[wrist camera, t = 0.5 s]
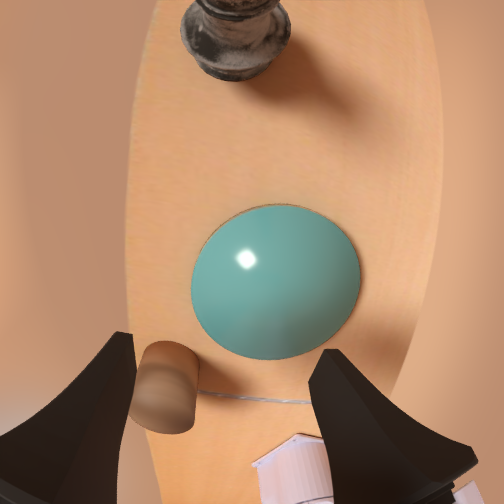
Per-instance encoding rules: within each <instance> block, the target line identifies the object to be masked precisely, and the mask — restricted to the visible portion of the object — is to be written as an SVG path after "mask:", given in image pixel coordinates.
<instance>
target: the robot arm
mask: <svg viewBox="0 0 504 504" xmlns="http://www.w3.org/2000/svg"><path fill="white" fill-rule="evenodd" d="M136 373H137V367H136V360H135V352H134V343H133V334H129V333H123V332H118V331H117V332H115V333H114V334H113V335H112V337H111V338H110V339H109V340H108V342H107V343H106V344H105V345H104V347H103V348H102V349H101V350H100V351H99V353H98V354H97V355H96V356H95V357H94V359H93V360H92V361H91V362H90V363H89V364H88V365H87V366H86V368H85V369H84V370H83V371H82V372H81V373H80V374H79V375H78V376H77V377H76V378H75V379H74V380H73V382H71V383H70V384H69V386H68V387H67V388H66V389H64V390H63V391H62V392H61V393H60V394H59V395H58V396H57V397H56V398H55V399H53V400H52V401H51V402H50V403H49V404H48V405H46V406H45V407H44V408H43V409H41V410H40V411H39V412H37V413H36V414H35V415H34V416H32V417H31V418H29V419H28V420H26V421H25V422H23V423H22V424H20V425H18V426H17V427H16V428H14V429H12V430H11V431H9V432H7V433H5V434H4V435H2V436H0V504H117V473H118V461H119V451H120V445H121V440H122V436H123V431H124V427H125V424H126V420H127V416H128V412H129V408H130V405H131V401H132V397H133V393H134V386H135V380H136ZM308 384H309V390H310V396H311V402H312V406H313V409H314V412H315V416H316V419H317V422H318V425H319V428H320V432H321V435H322V438H323V439H321V438H316V437H311V436H307V435H302V434H296V435H294V436H293V437H292V438H290V439H289V440H287V441H286V442H284V443H283V444H281V445H280V446H278V447H277V448H275V449H274V450H272V451H271V452H269V453H268V454H266V455H265V456H263V457H261V458H260V459H258V460H257V461H255V462H253V463H252V467H256V468H257V471H258V479H259V488H260V496H261V502H262V504H484V502H483V499H482V497H481V495H480V493H479V490H478V488H477V486H476V484H475V482H474V480H471V481H470V482H469V483H467V484H465V485H464V486H462V487H461V488H459V489H458V490H456V491H455V492H453V493H452V491H451V489H452V488H454V487H455V485H454V483H453V481H454V480H456V479H457V478H458V477H460V476H461V475H463V474H464V473H466V472H467V471H468V470H470V469H471V468H473V467H474V466H475V465H476V464H477V463H478V459H477V457H476V455H475V454H474V451H473V449H472V448H471V447H470V446H467V445H464V444H462V443H459V442H456V441H453V440H450V439H448V438H446V437H444V436H442V435H440V434H438V433H436V432H434V431H432V430H430V429H429V428H427V427H425V426H424V425H422V424H420V423H419V422H417V421H416V420H414V419H413V418H411V417H410V416H409V415H407V414H406V413H405V412H403V411H402V410H401V409H399V408H398V407H397V406H396V405H394V404H393V403H392V402H391V401H390V400H389V399H388V398H386V397H385V396H384V395H383V394H382V393H381V392H380V391H379V390H378V389H377V388H376V387H375V386H374V385H373V384H372V383H371V382H370V381H369V380H368V379H367V378H366V377H365V376H364V375H363V374H362V373H361V372H360V371H359V370H358V369H357V368H356V367H355V366H354V365H353V364H352V363H351V362H350V361H349V360H348V359H347V358H346V356H345V355H344V354H343V353H342V352H341V351H340V350H338V349H324V351H323V353H322V355H321V357H320V359H319V361H318V363H317V365H316V367H315V369H314V371H313V373H312V375H311V377H310V379H309V381H308Z"/></svg>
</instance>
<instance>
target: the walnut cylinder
mask: <svg viewBox="0 0 504 504" xmlns="http://www.w3.org/2000/svg"><path fill="white" fill-rule="evenodd" d="M198 376H199V361H198V358H197V357H196V355H195V354H194V353H193V352H192V351H191V350H190V349H189V348H187V347H186V346H184V345H182V344H179V343H176V342H172V341H158V342H155V343H152V344H151V345H149V346H148V347H147V348H146V349H145V351H144V353H143V356H142V359H141V362H140V365H139V368H138V371H137V374H136V380H135V386H134V393H133V397H132V401H131V405H130V408H129V412H128V414H129V416H130V417H131V418H132V419H133V420H134V421H135V422H136V423H137V424H139V425H140V426H142V427H144V428H146V429H148V430H151V431H154V432H157V433H162V434H180V433H183V432H186V431H188V430H190V429H191V428H192V427H193V425H194V420H195V408H196V397H197V386H198Z"/></svg>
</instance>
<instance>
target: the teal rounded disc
mask: <svg viewBox="0 0 504 504" xmlns="http://www.w3.org/2000/svg"><path fill="white" fill-rule="evenodd" d="M359 288H360V267H359V262H358V258H357V255H356V252H355V250H354V248H353V246H352V244H351V242H350V241H349V239H348V238H347V237H346V235H345V234H344V233H343V232H342V231H341V230H340V229H339V228H338V227H337V226H336V225H335V224H334V223H332V222H331V221H330V220H328V219H327V218H325V217H324V216H322V215H321V214H319V213H317V212H315V211H313V210H311V209H308V208H305V207H301V206H297V205H291V204H268V205H262V206H258V207H254V208H251V209H248V210H246V211H243V212H241V213H239V214H237V215H235V216H233V217H232V218H230V219H229V220H227V221H226V222H225V223H223V224H222V225H221V226H220V227H219V228H218V229H217V230H215V231H214V232H213V233H212V235H211V236H210V237H209V239H208V240H207V241H206V242H205V244H204V246H203V248H202V249H201V251H200V253H199V256H198V258H197V261H196V264H195V268H194V272H193V276H192V282H191V297H192V304H193V308H194V311H195V314H196V316H197V319H198V321H199V322H200V324H201V326H202V327H203V329H204V330H205V331H206V332H207V334H208V335H209V336H210V337H211V338H212V339H213V340H214V341H215V342H217V343H218V344H219V345H221V346H222V347H224V348H225V349H227V350H229V351H231V352H233V353H236V354H238V355H241V356H244V357H248V358H253V359H259V360H279V359H285V358H290V357H294V356H298V355H301V354H303V353H306V352H308V351H310V350H312V349H314V348H316V347H318V346H319V345H321V344H323V343H324V342H325V341H327V340H328V339H329V338H331V337H332V336H333V335H334V334H335V333H336V332H337V331H338V330H339V329H340V328H341V326H342V325H343V324H344V323H345V321H346V320H347V318H348V317H349V315H350V314H351V312H352V310H353V307H354V305H355V303H356V300H357V297H358V293H359Z"/></svg>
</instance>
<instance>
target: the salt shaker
mask: <svg viewBox="0 0 504 504" xmlns="http://www.w3.org/2000/svg"><path fill="white" fill-rule="evenodd" d="M279 1H280V0H195V1H194V2H193V3H192V4H191V5H190V6H189V8H188V9H187V10H186V12H185V14H184V16H183V18H182V21H181V28H180V32H181V37H182V42H183V43H184V45H185V47H186V48H187V50H188V52H189V53H190V54H191V55H193V56H194V57H195V60H196V61H197V63H198V65H199V66H200V67H201V68H202V69H203V70H204V71H205V72H206V73H207V74H209V75H211V76H213V77H215V78H217V79H221V80H225V81H241V80H247V79H250V78H252V77H255V76H257V75H259V74H260V73H261V72H263V71H264V70H265V69H266V68H267V67H268V66H269V65H270V63H271V62H272V60H273V59H274V58H275V57H277V56H278V55H279V54H280V53H281V51H282V50H283V49H284V48H285V46H286V45H287V42H288V40H289V37H290V34H291V23H290V20H289V17H288V13H287V12H286V11H285V9H284V8H283V6H282V5H281V4H280V3H279Z"/></svg>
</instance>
